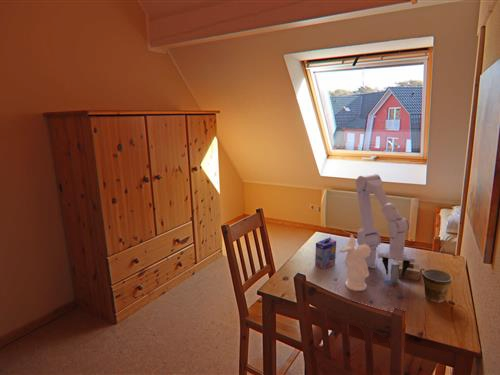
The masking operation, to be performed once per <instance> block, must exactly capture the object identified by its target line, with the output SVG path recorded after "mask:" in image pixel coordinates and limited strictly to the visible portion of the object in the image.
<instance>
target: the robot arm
mask: <svg viewBox="0 0 500 375" xmlns="http://www.w3.org/2000/svg"><path fill="white" fill-rule="evenodd" d="M355 187H356V193H357V197H358V198H357V199H358V208H359V209H358V210H359V216H360V224H361V228H360V229H359V230H358V231H357V237H356V241H357V244H356V245H355V247H357V246H360V245H363V244H367V245H369V247H370V249H371V253H370V255H369V256H368V257H366V258H365V260H366V263H367V267H368V268H371V269H377V258H378V259H381V261H382V264H383V266H384V269H385V275H386V276H388V275H389V260H392V261H394V262H397V261H399V260H401V261H403V267H402V274H401V277H400V278H403V276H404V273H405V271H406V269H407V268H408V267H409V265H410V262H412V263H415V262H416V257H415V256H412V255H411V256H410V255H407V254H405V243H406V242H405V241H406V232H407V231H409V229H410V223H409V220H408V219H407V218H405V217H404V216H402V215H401V214H400V212H399V210H398V209H397V207H396V205H395V204H394V203H391V202H390V200H389V199H388V196H387V194H386V192H385V190H384V188H383V180H382V178H381V177H380V175H379V174H377V173H374V174H369V175H368V174H367V175H359V176H358V177H357V178H356V180H355ZM371 193H372V194H373V195H374V197H375V198H376V199H377V200H378V203H380V205H381V212H382V214H383V216H384V218H385V219H386V221H387V223H388V224H387V228H388V231H389V232H388V234H389V236H390V238H389V249H388V252H380V251H378V253H377V248H378V247H379V245H380V244H381V241H382V239H381V236H380V233H379V230H378V229H377V228H376V227H375V226H374V220H373V213H372V204H371V196H370V195H371Z"/></svg>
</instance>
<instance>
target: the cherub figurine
mask: <svg viewBox="0 0 500 375" xmlns="http://www.w3.org/2000/svg"><path fill="white" fill-rule="evenodd" d="M356 246H357V245H356V238H355V237H354V235H353V233H351V234H350V235H349V240H348V242H347V244H346V246H344V247H343V249H340V250H339V253H342V254H343V253H346V254H345V259H344V265H345V267H346V268H347V270H346V277H347V278H346V279H347V280H346V281H345V287H346V288H347V289H349V290H351V291H354V292H360V291H361V292H363V291H365V290H366V289H367V287H368V286H367V283H366V278H368V277H369V276H370V270H369V267H367V263H366V260H365V258H366V257H368V256H369V255H370V253H371V249H370V247H369V245H367V244H363V245H360V246H357V247H356Z"/></svg>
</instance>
